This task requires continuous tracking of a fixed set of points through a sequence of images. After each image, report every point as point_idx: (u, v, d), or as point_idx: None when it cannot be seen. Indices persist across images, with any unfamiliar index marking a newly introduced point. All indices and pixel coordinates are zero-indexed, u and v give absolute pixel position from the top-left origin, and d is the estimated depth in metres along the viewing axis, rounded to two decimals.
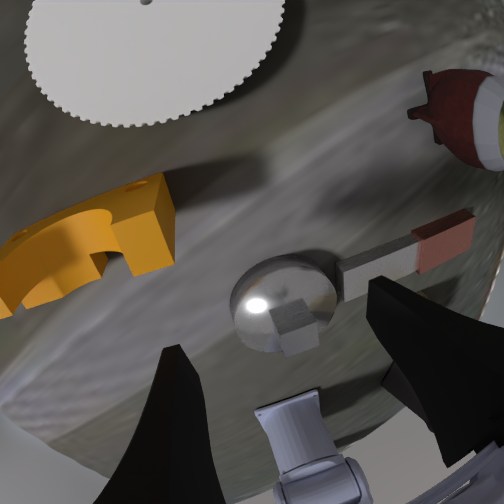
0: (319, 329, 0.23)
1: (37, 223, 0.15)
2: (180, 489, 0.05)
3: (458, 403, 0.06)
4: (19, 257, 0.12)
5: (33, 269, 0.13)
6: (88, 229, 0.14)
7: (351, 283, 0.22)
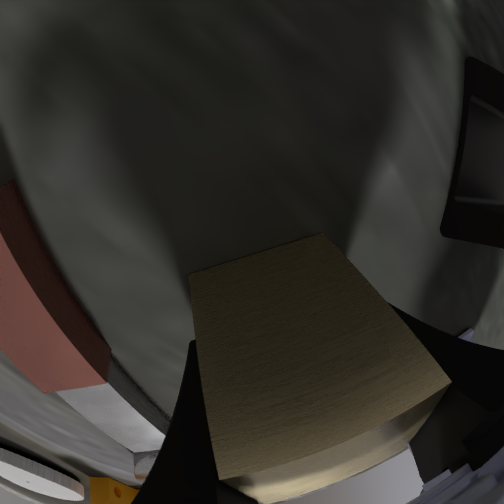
0: None
1: None
2: (223, 483, 0.05)
3: (431, 422, 0.06)
4: None
5: None
6: None
7: (148, 446, 0.13)
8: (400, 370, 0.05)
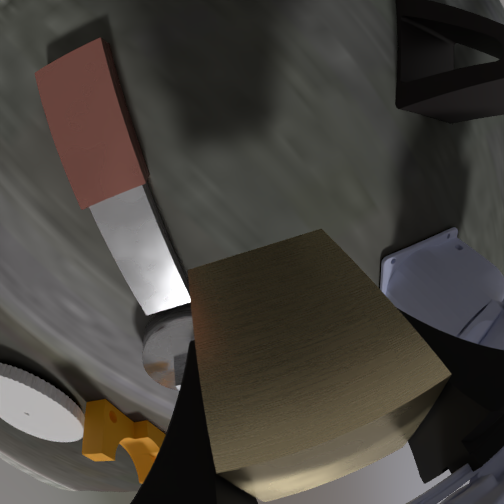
0: None
1: None
2: (223, 483, 0.05)
3: (431, 422, 0.06)
4: (138, 463, 0.25)
5: (144, 459, 0.25)
6: None
7: (162, 301, 0.17)
8: (399, 362, 0.05)
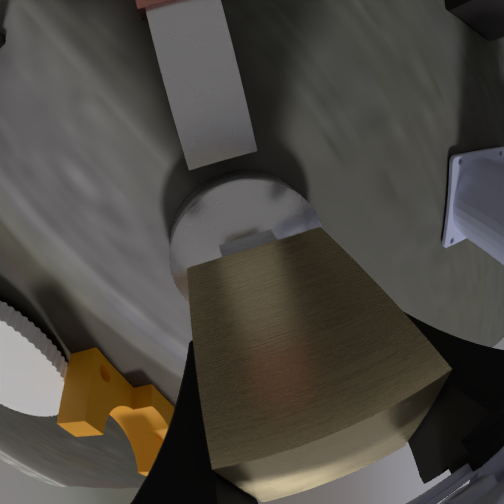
0: (296, 201, 0.14)
1: None
2: (223, 483, 0.05)
3: (431, 422, 0.06)
4: (137, 445, 0.19)
5: (146, 440, 0.20)
6: (112, 409, 0.18)
7: (215, 147, 0.12)
8: (399, 357, 0.05)
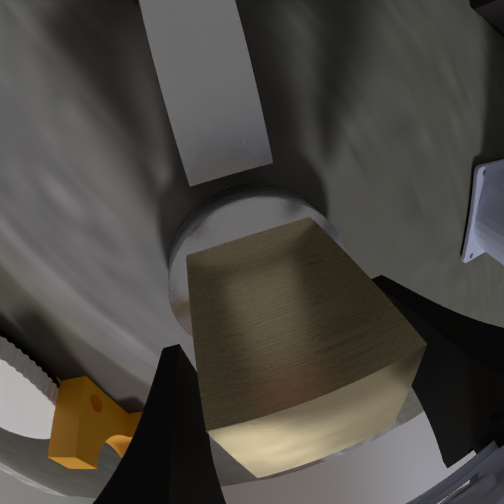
0: (318, 223, 0.11)
1: None
2: (180, 489, 0.05)
3: (458, 403, 0.06)
4: None
5: None
6: None
7: (222, 158, 0.10)
8: (376, 332, 0.06)
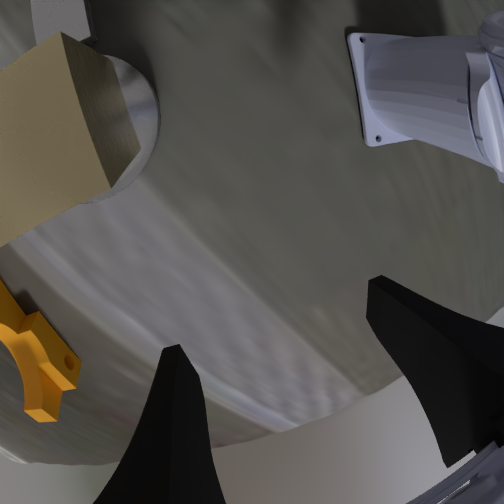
0: (119, 66, 0.11)
1: None
2: (180, 489, 0.05)
3: (458, 403, 0.06)
4: (26, 381, 0.16)
5: (33, 375, 0.17)
6: (1, 332, 0.15)
7: None
8: None
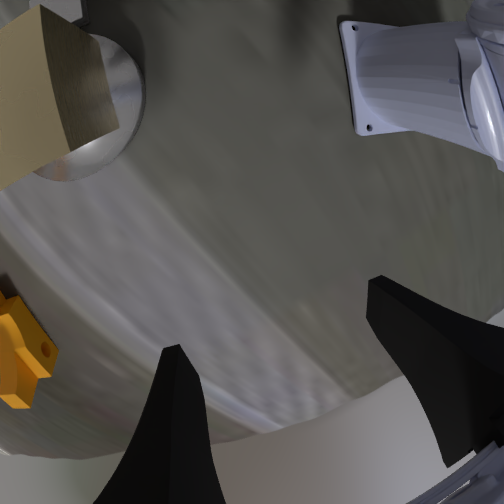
0: (107, 46, 0.10)
1: None
2: (180, 489, 0.05)
3: (458, 403, 0.06)
4: (3, 366, 0.15)
5: (9, 360, 0.16)
6: None
7: None
8: None
